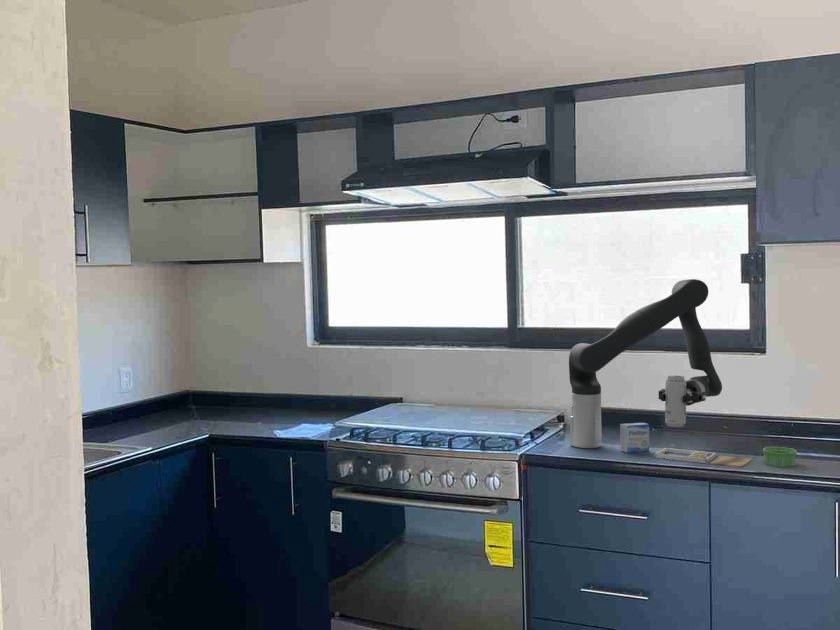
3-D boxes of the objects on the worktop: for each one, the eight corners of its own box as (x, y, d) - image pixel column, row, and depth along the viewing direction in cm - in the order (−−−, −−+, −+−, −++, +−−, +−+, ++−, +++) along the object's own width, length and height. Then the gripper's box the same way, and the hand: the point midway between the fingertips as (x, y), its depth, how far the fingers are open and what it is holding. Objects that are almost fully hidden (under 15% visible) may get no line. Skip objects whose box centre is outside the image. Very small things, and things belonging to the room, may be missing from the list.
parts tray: (654, 457, 251) (654, 453, 251) (665, 451, 260) (665, 447, 260) (706, 463, 243) (706, 458, 242) (716, 456, 251) (716, 452, 251)
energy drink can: (663, 423, 256) (664, 375, 255) (684, 424, 255) (684, 375, 254) (666, 427, 250) (667, 377, 249) (687, 427, 249) (687, 377, 248)
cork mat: (710, 464, 242) (710, 462, 242) (720, 456, 251) (720, 455, 251) (742, 467, 237) (742, 466, 237) (751, 460, 246) (751, 458, 246)
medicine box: (626, 453, 258) (626, 425, 258) (619, 450, 262) (619, 423, 262) (649, 451, 260) (649, 424, 260) (642, 448, 264) (642, 421, 264)
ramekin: (757, 465, 240) (757, 450, 240) (770, 459, 246) (770, 445, 246) (789, 470, 233) (789, 454, 233) (801, 464, 240) (801, 449, 240)
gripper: (667, 378, 268) (649, 384, 254) (713, 381, 259) (697, 388, 246) (667, 401, 268) (649, 409, 254) (713, 405, 260) (697, 413, 246)
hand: (673, 398), depth 250 cm, fingers closed on energy drink can, 6 cm apart
